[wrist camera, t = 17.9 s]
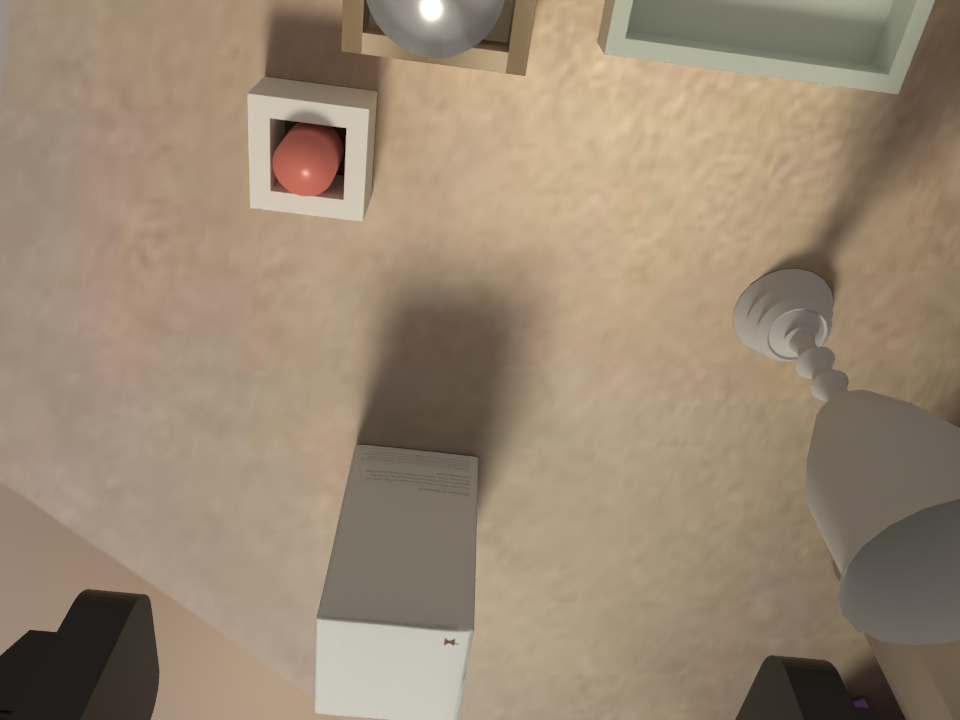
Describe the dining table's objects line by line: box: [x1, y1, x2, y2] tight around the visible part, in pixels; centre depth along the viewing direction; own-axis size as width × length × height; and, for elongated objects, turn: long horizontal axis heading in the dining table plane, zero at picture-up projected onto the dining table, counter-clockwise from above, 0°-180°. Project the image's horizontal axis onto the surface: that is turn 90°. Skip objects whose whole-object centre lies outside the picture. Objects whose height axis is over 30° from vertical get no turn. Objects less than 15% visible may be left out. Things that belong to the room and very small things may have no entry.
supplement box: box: [314, 445, 479, 720], centre depth 43 cm, size 7×7×13 cm
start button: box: [273, 122, 343, 196], centre depth 35 cm, size 3×3×2 cm
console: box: [248, 77, 377, 221], centre depth 36 cm, size 5×5×3 cm
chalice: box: [733, 269, 960, 645], centre depth 34 cm, size 7×7×18 cm
